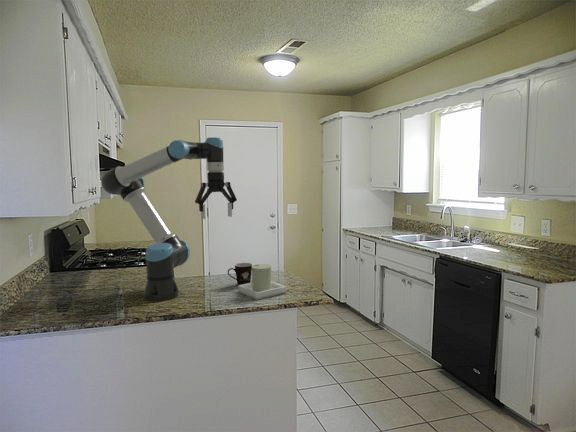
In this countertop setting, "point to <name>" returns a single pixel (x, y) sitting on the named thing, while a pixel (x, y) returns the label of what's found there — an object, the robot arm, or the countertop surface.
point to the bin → (275, 290)
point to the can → (261, 277)
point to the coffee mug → (242, 273)
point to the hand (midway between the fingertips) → (216, 217)
